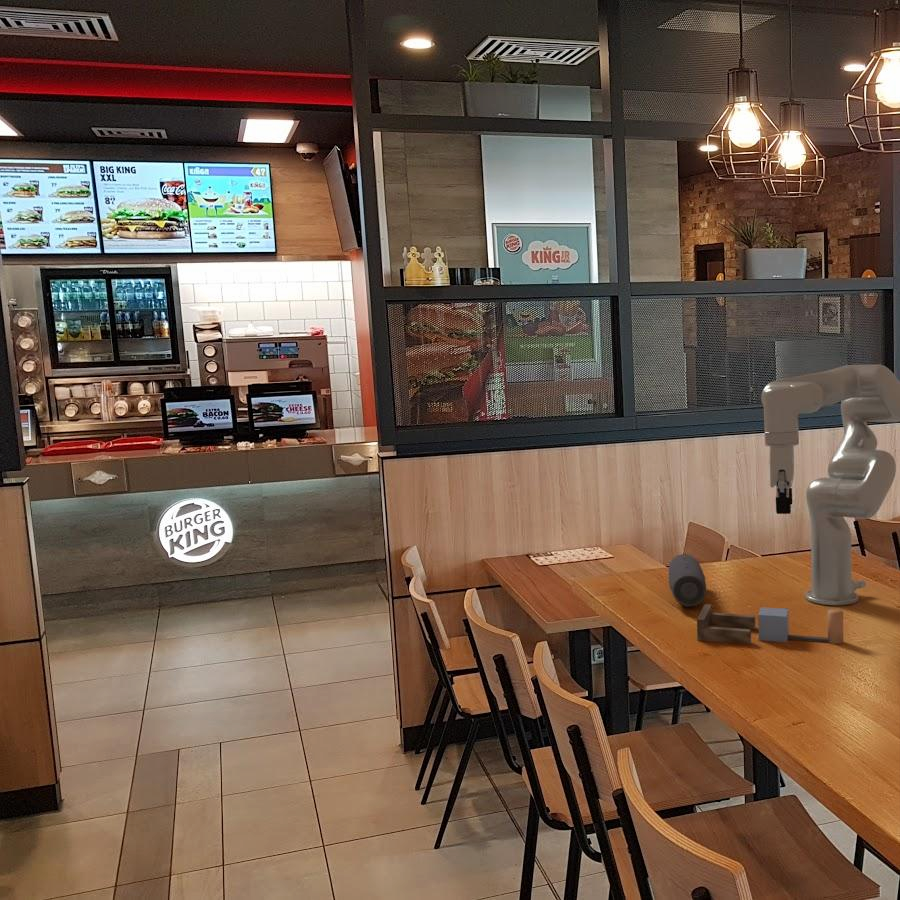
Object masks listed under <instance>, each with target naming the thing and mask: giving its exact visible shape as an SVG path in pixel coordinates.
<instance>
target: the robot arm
mask: <svg viewBox="0 0 900 900" xmlns="http://www.w3.org/2000/svg"><path fill="white" fill-rule="evenodd" d="M760 396H761V397H760V398H761V400H760V401H761V404H762V406H763V419H764V420H763V422H764V424H763V425H764V446H766V447H769V475H770V476H769V480H770V481H769V487H771V488H772V489H774V487H776V488H775V489H776V496H775V512H776V513H775V514H777V515H789V514H790V515H791V513H792V509H791V508H792V507H791V505H793V487H792V486H793V484H794V483H793V482H794V477H795V454H794V453H795V451H794V450H795V449H794V448H795V447H796V446H797V445H799V444H800V442H799V440H800V439H799V437H800V436H799V435H800V434H799V415H800V414H812V413H815V412H817V411H818V410H819V409H820V408H821V407H822V406H830V405H835V404H837V403H840V402H841V403H840V414H841V420H842V427H843V436H842V439H841V441H840V443H838V444H839V445H838V446H837V448H836V449H835V451H834V454H833V455H832V457H831V459H830V461H829V463H828V466H827V475H828V477H819V478H816V479H814V480H812V481H810V483H809V485H807V488H806V493H805V494H806V495H805V499H806V503H807V504H806V505H807V508H808V512H809V521H810V522H809V523H810V551H811V552H810V558H811V566H810V568H811V569H810V570H811V589H809V590H807V591H806V592H805V593H804V597H805V599H806V600H808V601H810V602H811V603H814V604H819V605H826V606H848V605H849V606H850V605H852V604H856V603H858V601H859V595H858V594H857V593H856V591H857V589H864V588H866V581H865V580H856V581H855V580H853V579H852V531H851V529H850V526H849V524H848V523H847V521H846V518H851V519H862V520H867V519H871V518H873V517H875V515H877V514H878V512H879V510H880V508H881V506H882V505H883V502H884V501H885V499H886V497H887V495H888V493H889V491H890V490H891V487H892V485H893V482H894V480H895V477H896V473H897V465H896V464H897V463H896V460H895V458H894V456H893V455H892V454H891V453H889V452H887V451H886V450H881V449H877V446H878V440H877V437H876V435H875V434H874V432H873V430H872V429H871V428H870V427H869V425H868V423H867V422H869V423H872V422H873V423H899V422H900V380H899V378H897V376H896V375H895V373H893V371H892V370H891V369H889V367H887V366H885V365H883V364H877V363H876V364H850V365H849V364H848V365H843V366H839V367H836V368H832V369H829V370H824V371H821V372H814V373H807V374H803V375H797V376H791V377H785V378H781V379H777V380H774V381H770V382H768V383H767V384H766V385H765V387H764V388H763V389H762V392H761V395H760ZM794 446H795V447H794Z"/></svg>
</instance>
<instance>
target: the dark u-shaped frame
mask: <svg viewBox="0 0 900 900" xmlns="http://www.w3.org/2000/svg"><path fill="white" fill-rule="evenodd" d="M712 611H713V609H712V604H710V603H704V605H703V606H702V608H701V611H700V613H699V615H698V617H697V619H696V631H697V632H696V634H697V635H696V638H697V641H700V642H701V641H703V642H712V643H713V642H715V643H727V644H739V645H751V644H752V630H753V631H755V630H756V615H754V614H753V615H752V614H751V615H750V614H739V613H736V614H735V613H725V612H723V613H722V612H720V613H719V612H712Z"/></svg>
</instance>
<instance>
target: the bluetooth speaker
mask: <svg viewBox="0 0 900 900" xmlns="http://www.w3.org/2000/svg"><path fill="white" fill-rule="evenodd" d="M668 584H669V585H668V586H669V589H670V591H671V594H672V596H673V597H674V599H675V601H676V602H678V604H680V605H682V606H684V607H694V606H698V605H699V604H701V603H702V602H703V601H704V600H705V597H706V595H707V594H706V593H707V583H706V576H705V574H704V571H703V568H702V566H701V565H700V563H699V561H698V560H697V559H696V558H695V557H693V556H692V555H690V554H684V553H683V554H678V555H676V556H675V557H673V558H672V560H671V561H670V563H669V566H668Z"/></svg>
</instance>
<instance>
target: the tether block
mask: <svg viewBox="0 0 900 900" xmlns="http://www.w3.org/2000/svg"><path fill="white" fill-rule="evenodd" d="M757 617H758V641H761V642H762V641H763V642H772V643H773V642H774V643H775V642H776V643H788V640H791V641H792V640H793V641H805V642H819V643H829V644H831V645H842V644H844V611H843V610H841V609H828V610H827V637H821V636H808V635H796V634H795V635H793V634H790V632H789V631H790V629H789V628H790V627H789V625H790V623H789V621H790V620H789V608H777V607H765V606H764V607H763V606H761V607H760V609H759V612H758V616H757Z"/></svg>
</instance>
